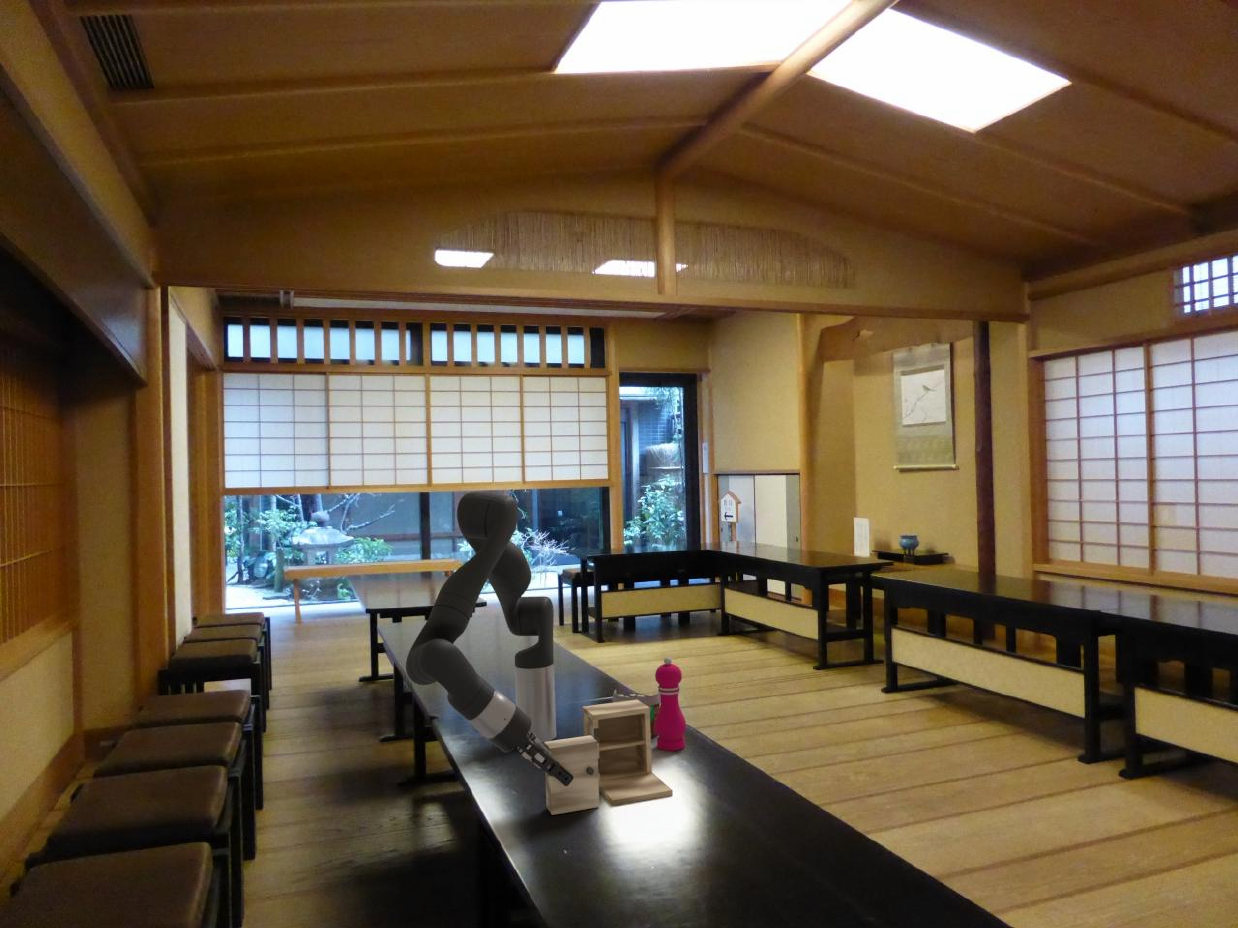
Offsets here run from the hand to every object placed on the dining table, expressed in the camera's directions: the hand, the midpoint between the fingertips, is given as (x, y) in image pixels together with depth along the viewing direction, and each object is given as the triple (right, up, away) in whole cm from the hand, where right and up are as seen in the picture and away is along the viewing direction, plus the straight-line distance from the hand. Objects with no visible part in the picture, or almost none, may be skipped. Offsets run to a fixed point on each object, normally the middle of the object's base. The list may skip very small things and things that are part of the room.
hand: (566, 777), depth 153 cm
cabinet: (+11, -6, +11) cm, 17 cm away
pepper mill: (+21, -6, +33) cm, 40 cm away
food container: (+13, -6, +41) cm, 44 cm away
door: (+1, -6, 0) cm, 6 cm away
